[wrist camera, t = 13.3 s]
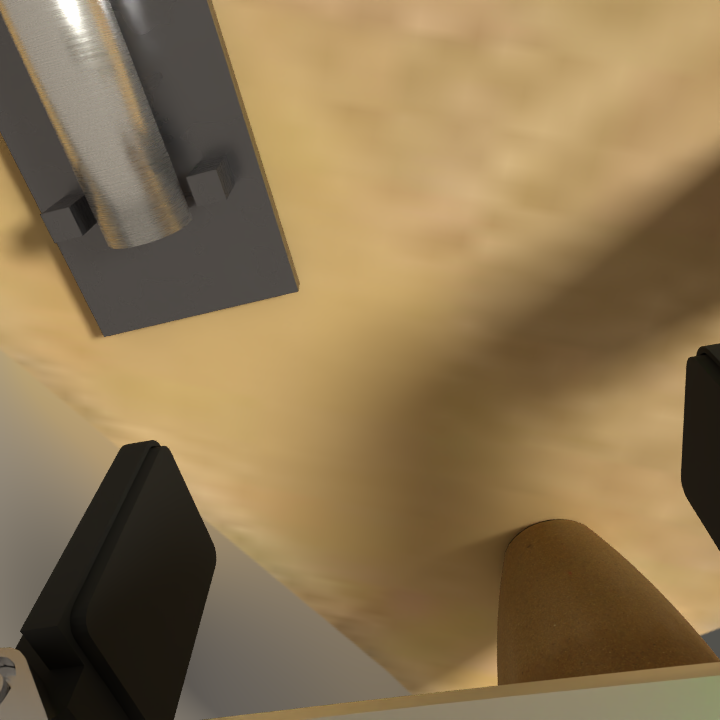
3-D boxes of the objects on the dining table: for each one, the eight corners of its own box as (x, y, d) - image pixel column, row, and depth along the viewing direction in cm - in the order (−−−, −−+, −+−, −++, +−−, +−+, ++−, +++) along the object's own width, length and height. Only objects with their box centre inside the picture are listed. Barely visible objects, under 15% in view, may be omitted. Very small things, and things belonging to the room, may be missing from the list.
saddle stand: (90, -389, 24) (-62, -622, 15) (299, 283, 37) (287, 374, 29) (-197, -290, 25) (-501, -450, 16) (110, 327, 39) (41, 429, 30)
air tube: (-96, -262, 24) (-179, -310, 20) (12, -298, 24) (-52, -355, 20) (122, 227, 34) (94, 257, 30) (200, 207, 34) (182, 235, 30)
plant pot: (507, 636, 55) (564, 853, 41) (426, 532, 48) (462, 749, 34) (673, 571, 51) (798, 784, 37) (611, 449, 45) (734, 653, 31)
